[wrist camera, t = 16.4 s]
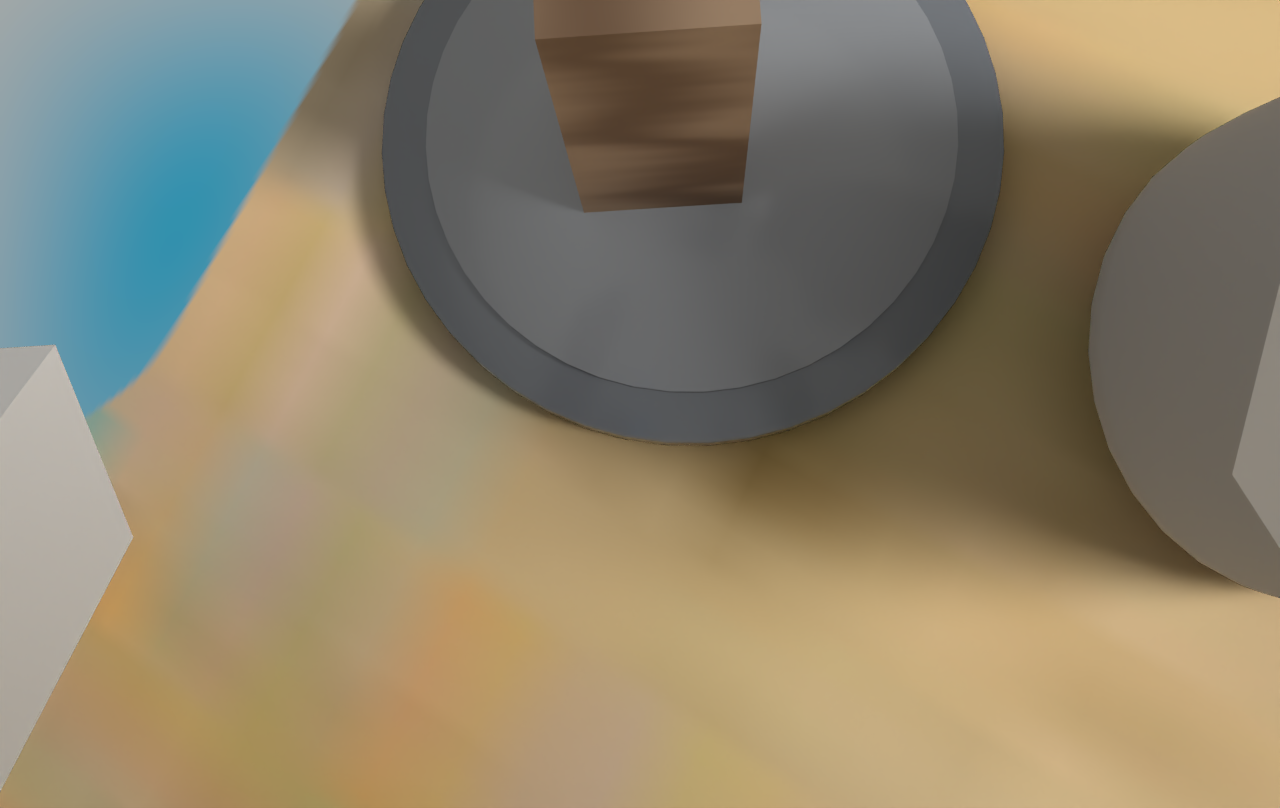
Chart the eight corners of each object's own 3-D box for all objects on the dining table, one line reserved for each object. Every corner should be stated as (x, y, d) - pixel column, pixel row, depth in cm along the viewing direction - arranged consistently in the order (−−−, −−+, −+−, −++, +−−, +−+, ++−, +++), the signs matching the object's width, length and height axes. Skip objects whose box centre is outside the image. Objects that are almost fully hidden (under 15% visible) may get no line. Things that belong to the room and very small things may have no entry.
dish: (964, -150, 42) (974, -177, 41) (1025, 427, 39) (1037, 420, 37) (386, -107, 43) (375, -133, 41) (396, 463, 39) (384, 457, 38)
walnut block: (731, 54, 40) (746, -183, 28) (741, 202, 39) (761, 23, 27) (577, 64, 40) (526, -166, 28) (583, 212, 39) (534, 38, 27)
